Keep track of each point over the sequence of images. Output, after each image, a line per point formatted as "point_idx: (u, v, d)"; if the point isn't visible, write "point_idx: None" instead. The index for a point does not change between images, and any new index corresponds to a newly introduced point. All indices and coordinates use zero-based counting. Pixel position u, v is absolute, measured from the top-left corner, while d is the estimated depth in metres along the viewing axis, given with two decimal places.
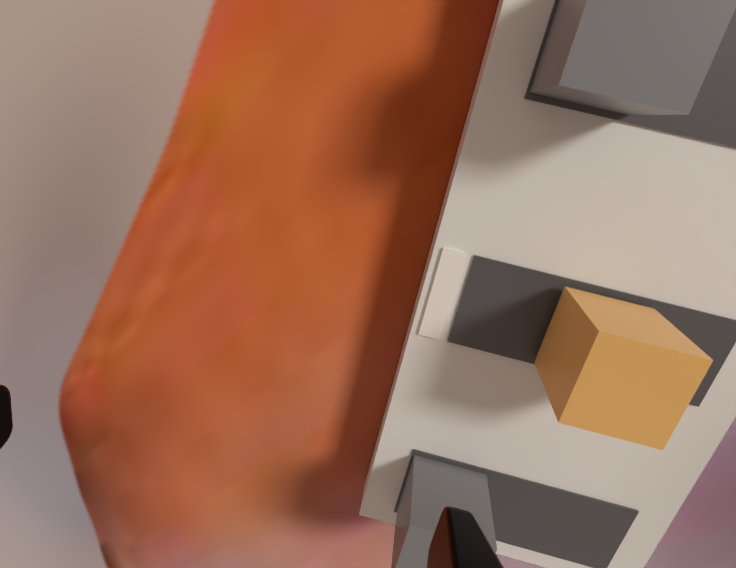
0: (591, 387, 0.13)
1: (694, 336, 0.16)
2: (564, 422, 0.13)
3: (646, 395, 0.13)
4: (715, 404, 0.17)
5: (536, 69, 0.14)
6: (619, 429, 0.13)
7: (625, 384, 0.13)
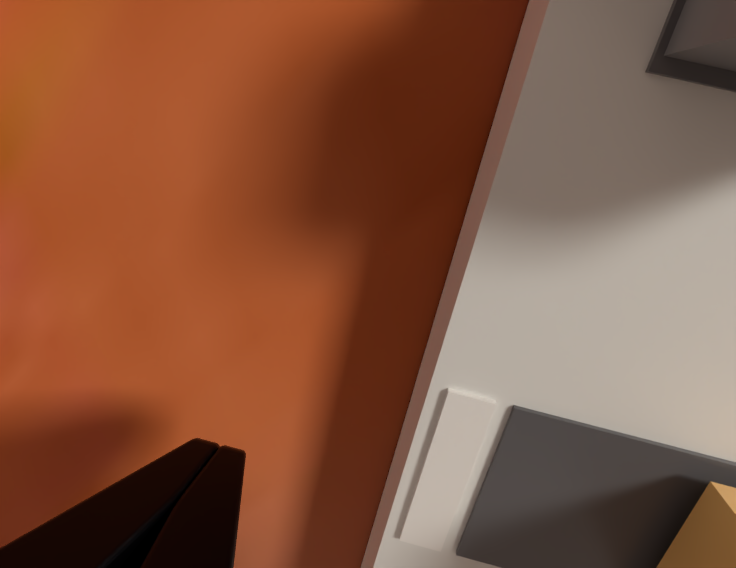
0: None
1: None
2: None
3: None
4: None
5: None
6: None
7: None
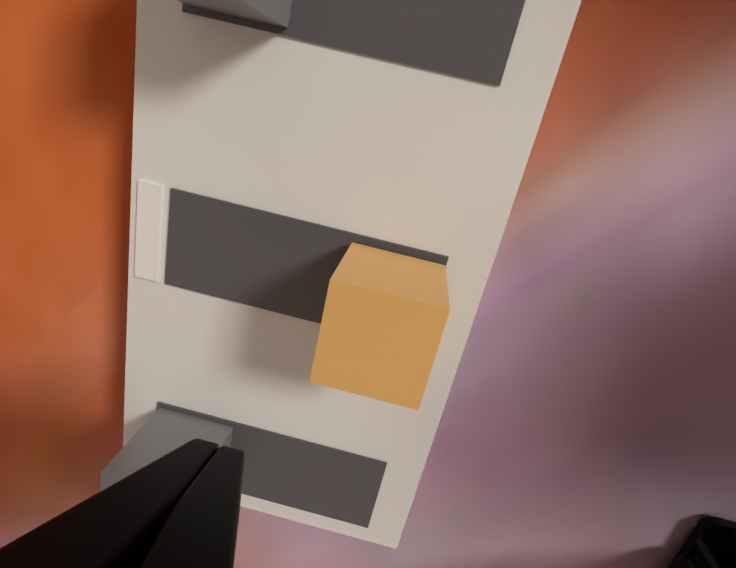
0: (334, 342, 0.12)
1: None
2: (315, 381, 0.12)
3: (390, 350, 0.12)
4: None
5: None
6: (371, 388, 0.12)
7: (368, 338, 0.12)
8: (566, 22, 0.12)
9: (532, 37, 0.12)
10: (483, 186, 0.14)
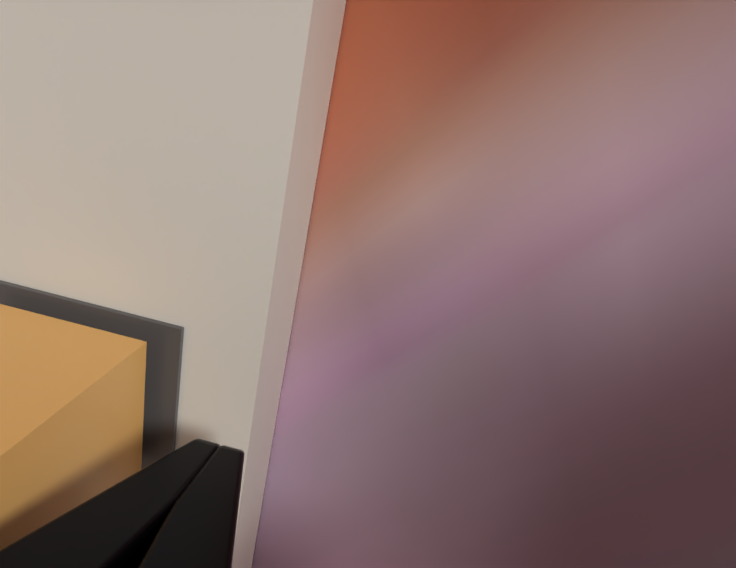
0: None
1: None
2: None
3: None
4: None
5: None
6: None
7: None
8: None
9: None
10: (219, 197, 0.07)
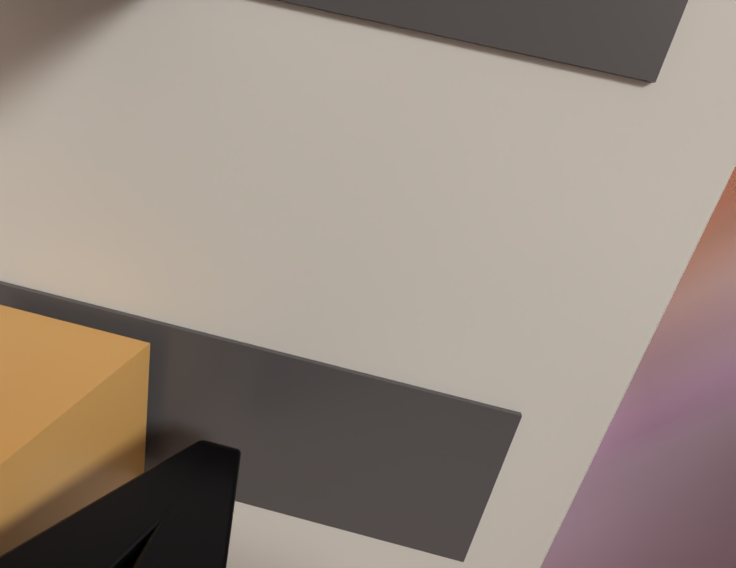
0: None
1: (430, 439, 0.08)
2: None
3: None
4: (494, 556, 0.09)
5: None
6: None
7: None
8: None
9: None
10: (599, 288, 0.07)
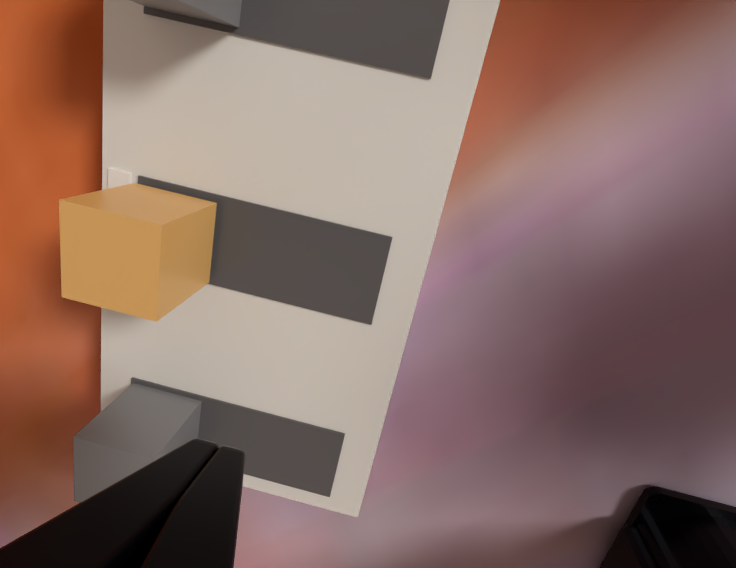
0: (75, 259, 0.13)
1: (350, 252, 0.16)
2: (66, 296, 0.14)
3: (122, 264, 0.13)
4: (387, 322, 0.17)
5: None
6: (113, 301, 0.14)
7: (100, 253, 0.13)
8: (487, 20, 0.14)
9: (457, 33, 0.14)
10: (421, 171, 0.15)
